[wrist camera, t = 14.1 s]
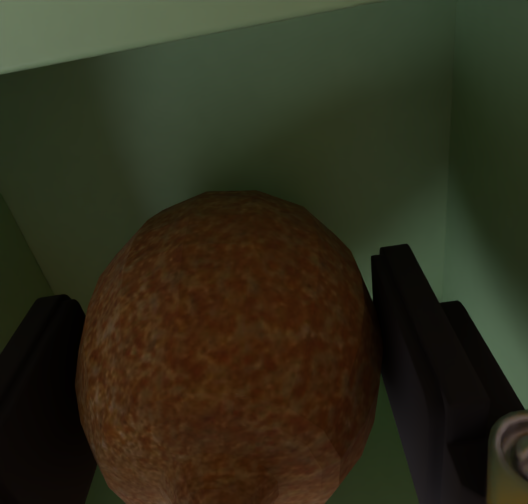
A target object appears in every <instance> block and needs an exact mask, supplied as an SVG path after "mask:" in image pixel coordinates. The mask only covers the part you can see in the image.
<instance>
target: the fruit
mask: <svg viewBox="0 0 528 504" xmlns="http://www.w3.org/2000/svg"><path fill="white" fill-rule="evenodd" d="M382 357H383V340H382V334H381V328H380V324H379V320H378V316H377V312H376V308H375V306H374V304H373V301H372V299H371V296H370V294H369V292H368V289H367V287H366V284H365V282H364V280H363V277H362V275H361V272H360V270H359V268H358V266H357V263H356V261H355V259H354V257H353V255H352V252H351V250H350V249H349V248H348V247H347V246H346V245H345V244H344V243H343V242H342V241H341V240H340V239H339V238H338V237H337V236H336V235H335V234H334V233H333V232H332V231H331V230H329V229H328V228H327V227H326V226H325V225H324V224H323V223H322V222H320V221H319V220H318V219H317V218H316V217H315V216H314V215H312V214H311V213H310V212H309V211H308V210H307V209H306V208H305V207H303V206H301V205H298V204H295V203H292V202H289V201H286V200H283V199H281V198H278V197H275V196H272V195H269V194H266V193H263V192H261V191H258V190H243V191H206V192H204V193H201V194H199V195H197V196H194V197H192V198H190V199H187V200H185V201H183V202H180V203H178V204H175V205H173V206H171V207H168V208H166V209H164V210H162V211H160V212H159V213H157V214H156V215H154V216H153V217H151V218H150V219H148V220H147V221H146V222H145V223H144V224H143V225H142V227H141V228H140V229H139V230H138V231H137V232H136V233H135V234H134V235H133V236H132V238H131V239H130V240H129V241H128V242H127V243H126V244H125V245H124V246H123V247H122V249H121V250H120V251H119V252H118V253H117V254H116V255H115V257H114V258H113V259H112V261H111V262H110V263H109V265H108V266H107V267H106V269H105V270H104V271H103V273H102V274H101V275H100V277H99V279H98V281H97V284H96V286H95V289H94V292H93V294H92V297H91V299H90V302H89V305H88V308H87V312H86V317H85V322H84V326H83V331H82V336H81V340H80V345H79V350H78V358H77V368H76V377H75V391H76V397H77V403H78V409H79V416H80V422H81V425H82V427H83V430H84V433H85V435H86V438H87V440H88V443H89V446H90V448H91V451H92V453H93V456H94V458H95V460H96V462H97V464H98V467H99V469H100V471H101V473H102V475H103V477H104V479H105V481H106V483H107V485H108V487H109V488H110V489H111V490H112V491H113V492H114V493H115V494H116V495H117V496H119V497H120V498H121V499H122V500H123V501H124V502H125V503H126V504H325V503H326V502H327V500H328V499H329V498H330V497H331V495H332V494H333V493H334V492H335V491H336V489H337V488H338V487H339V486H340V484H341V483H342V481H343V480H344V479H345V477H346V476H347V475H348V473H349V472H350V471H351V469H352V468H353V467H354V465H355V464H356V462H357V461H358V460H359V458H360V457H361V456H362V453H363V450H364V448H365V445H366V442H367V440H368V437H369V434H370V432H371V429H372V426H373V424H374V419H375V413H376V406H377V399H378V392H379V385H380V376H381V367H382Z"/></svg>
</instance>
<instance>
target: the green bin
mask: <svg viewBox="0 0 528 504" xmlns="http://www.w3.org/2000/svg"><path fill="white" fill-rule="evenodd" d="M243 190H258V191H261V192H263V193H266V194H269V195H272V196H275V197H278V198H281V199H283V200H286V201H289V202H292V203H295V204H298V205H301V206H303V207H305V208H306V209H307V210H308V211H309V212H310V213H311V214H312V215H314V216H315V217H316V218H317V219H318V220H319V221H320V222H322V223H323V224H324V225H325V226H326V227H327V228H328V229H329V230H331V231H332V232H333V233H334V234H335V235H336V236H337V237H338V238H339V239H340V240H341V241H342V242H343V243H344V244H345V245H346V246H347V247H348V248H349V249H350V250H351V252H352V255H353V257H354V259H355V261H356V263H357V266H358V268H359V270H360V272H361V275H362V277H363V280H364V282H365V284H366V287H367V289H368V292H369V294H370V296H371V299H372V301H373V293H372V275H371V256H372V255H379V251H380V248H381V247H386V246H393V245H400V244H408V245H409V246H410V248H411V250H412V252H413V253H414V255H415V257H416V259H417V261H418V263H419V265H420V267H421V269H422V271H423V273H424V274H425V276H426V278H427V280H428V282H429V284H430V286H431V288H432V290H433V292H434V293H435V295H436V297H437V299H438V301H439V303H441V302H448V301H456V300H458V301H460V302H461V303H462V304H463V306H464V307H465V309H466V310H467V312H468V314H469V315H470V317H471V319H472V320H473V322H474V324H475V326H476V327H477V329H478V331H479V332H480V334H481V336H482V337H483V339H484V341H485V342H486V344H487V346H488V347H489V349H490V351H491V353H492V354H493V356H494V358H495V359H496V361H497V363H498V364H499V366H500V368H501V369H502V371H503V373H504V375H505V376H506V378H507V380H508V381H509V383H510V385H511V386H512V388H513V390H514V391H515V393H516V395H517V396H518V398H519V400H520V402H521V403H522V405H523V407H524V408H525V409H526V410H528V0H0V354H1V352H2V351H3V349H4V348H5V346H6V345H7V343H8V342H9V340H10V339H11V337H12V335H13V334H14V332H15V331H16V329H17V328H18V326H19V325H20V323H21V322H22V320H23V319H24V317H25V316H26V314H27V313H28V311H29V310H30V308H31V307H32V305H33V304H34V302H35V301H36V300H37V299H38V298H41V297H47V296H54V295H61V294H66V295H68V296H69V297H70V298H71V299H75V300H77V301H78V302H79V304H80V305H81V307H82V309H83V311H84V313H85V315H86V312H87V308H88V305H89V302H90V299H91V297H92V294H93V292H94V289H95V286H96V284H97V281H98V279H99V277H100V275H101V274H102V273H103V271H104V270H105V269H106V267H107V266H108V265H109V263H110V262H111V261H112V259H113V258H114V257H115V255H116V254H117V253H118V252H119V251H120V250H121V249H122V247H123V246H124V245H125V244H126V243H127V242H128V241H129V240H130V239H131V238H132V236H133V235H134V234H135V233H136V232H137V231H138V230H139V229H140V228H141V227H142V225H143V224H144V223H145V222H146V221H147V220H148V219H150V218H151V217H153V216H154V215H156V214H157V213H159V212H160V211H162V210H164V209H166V208H168V207H171V206H173V205H175V204H178V203H180V202H183V201H185V200H187V199H190V198H192V197H194V196H197V195H199V194H201V193H204V192H206V191H243ZM85 504H126V503H125V502H124V501H123V500H122V499H121V498H120V497H119V496H117V495H116V494H115V493H114V492H113V491H112V490H111V489H110V488H109V487H108V485H107V483H106V481H105V479H104V477H103V475H102V473H101V471H100V469H99V467H98V464H97V467H96V470H95V474H94V477H93V480H92V483H91V486H90V489H89V492H88V495H87V499H86V502H85ZM325 504H419V501H418V497H417V494H416V490H415V487H414V484H413V480H412V477H411V473H410V470H409V467H408V463H407V460H406V456H405V453H404V450H403V446H402V443H401V439H400V436H399V433H398V429H397V426H396V422H395V419H394V416H393V412H392V409H391V405H390V402H389V399H388V395H387V392H386V388H385V385H384V382H383V378H382V375H381V376H380V385H379V392H378V399H377V406H376V413H375V419H374V424H373V426H372V429H371V432H370V434H369V437H368V440H367V442H366V445H365V448H364V450H363V453H362V456H361V457H360V458H359V460H358V461H357V462H356V464H355V465H354V467H353V468H352V469H351V471H350V472H349V473H348V475H347V476H346V477H345V479H344V480H343V481H342V483H341V484H340V486H339V487H338V488H337V489H336V491H335V492H334V493H333V494H332V495H331V497H330V498H329V499H328V500H327V502H326V503H325Z"/></svg>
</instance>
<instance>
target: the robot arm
mask: <svg viewBox="0 0 528 504" xmlns="http://www.w3.org/2000/svg"><path fill="white" fill-rule="evenodd" d="M371 275H372V293H373V304H374V306H375V308H376V312H377V316H378V320H379V324H380V328H381V334H382V340H383V357H382V367H381V375H382V378H383V382H384V385H385V388H386V392H387V395H388V399H389V402H390V405H391V409H392V412H393V416H394V419H395V422H396V426H397V429H398V433H399V436H400V439H401V443H402V446H403V450H404V453H405V456H406V460H407V463H408V467H409V470H410V473H411V477H412V480H413V484H414V487H415V490H416V494H417V497H418V501H419V504H528V410H526V409H525V408H524V407H523V405H522V403H521V402H520V400H519V398H518V396H517V395H516V393H515V391H514V390H513V388H512V386H511V385H510V383H509V381H508V380H507V378H506V376H505V375H504V373H503V371H502V369H501V368H500V366H499V364H498V363H497V361H496V359H495V358H494V356H493V354H492V353H491V351H490V349H489V347H488V346H487V344H486V342H485V341H484V339H483V337H482V336H481V334H480V332H479V331H478V329H477V327H476V326H475V324H474V322H473V320H472V319H471V317H470V315H469V314H468V312H467V310H466V309H465V307H464V306H463V304H462V303H461V302H460V301H458V300H456V301H448V302H441V303H439V301H438V299H437V297H436V295H435V293H434V292H433V290H432V288H431V286H430V284H429V282H428V280H427V278H426V276H425V274H424V273H423V271H422V269H421V267H420V265H419V263H418V261H417V259H416V257H415V255H414V253H413V252H412V250H411V248H410V246H409V245H408V244H400V245H393V246H386V247H381V248H380V251H379V255H372V256H371ZM85 317H86V315H85V313H84V311H83V309H82V307H81V305H80V304H79V302H78V301H77V300H75V299H71V298H70V297H69V296H68V295H66V294H61V295H54V296H47V297H41V298H38V299H37V300H36V301H35V302H34V304H33V305H32V307H31V308H30V310H29V311H28V313H27V314H26V316H25V317H24V319H23V320H22V322H21V323H20V325H19V326H18V328H17V329H16V331H15V332H14V334H13V335H12V337H11V339H10V340H9V342H8V343H7V345H6V346H5V348H4V349H3V351H2V352H1V354H0V504H85V502H86V499H87V495H88V492H89V489H90V486H91V483H92V480H93V477H94V474H95V470H96V467H97V462H96V460H95V458H94V456H93V453H92V451H91V448H90V446H89V443H88V440H87V438H86V435H85V433H84V430H83V427H82V425H81V422H80V416H79V409H78V403H77V397H76V391H75V377H76V368H77V358H78V350H79V345H80V340H81V336H82V331H83V326H84V322H85Z"/></svg>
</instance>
